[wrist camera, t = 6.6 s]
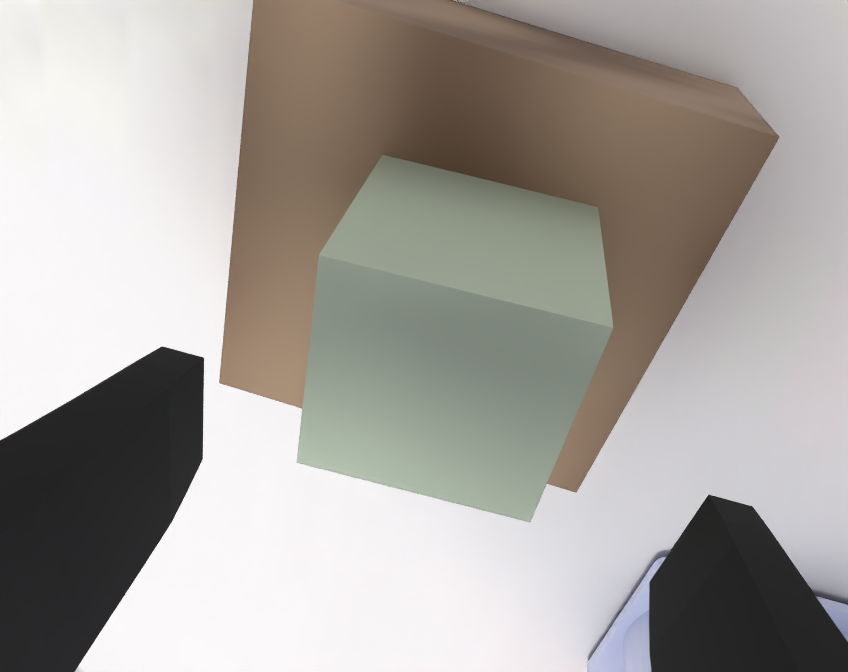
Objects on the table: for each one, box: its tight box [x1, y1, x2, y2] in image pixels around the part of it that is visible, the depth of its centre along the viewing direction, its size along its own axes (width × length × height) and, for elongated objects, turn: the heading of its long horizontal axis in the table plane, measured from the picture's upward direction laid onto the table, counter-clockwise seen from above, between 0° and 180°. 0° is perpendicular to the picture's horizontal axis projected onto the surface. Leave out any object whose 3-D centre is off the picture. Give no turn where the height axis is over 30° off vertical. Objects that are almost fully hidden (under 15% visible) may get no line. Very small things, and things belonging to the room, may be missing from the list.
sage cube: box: [297, 155, 613, 522], centre depth 13 cm, size 4×4×4 cm
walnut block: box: [219, 0, 779, 492], centre depth 17 cm, size 10×10×4 cm
